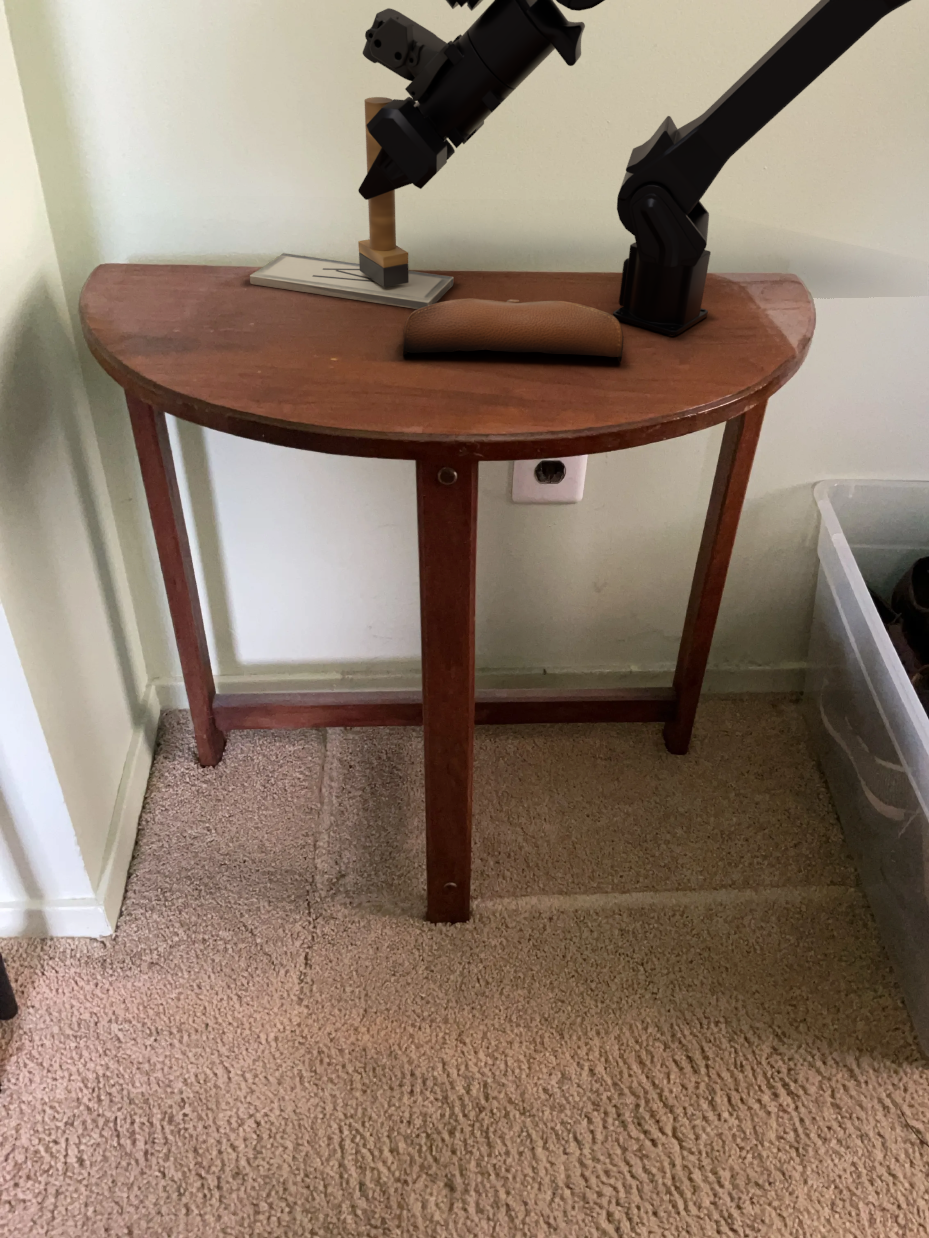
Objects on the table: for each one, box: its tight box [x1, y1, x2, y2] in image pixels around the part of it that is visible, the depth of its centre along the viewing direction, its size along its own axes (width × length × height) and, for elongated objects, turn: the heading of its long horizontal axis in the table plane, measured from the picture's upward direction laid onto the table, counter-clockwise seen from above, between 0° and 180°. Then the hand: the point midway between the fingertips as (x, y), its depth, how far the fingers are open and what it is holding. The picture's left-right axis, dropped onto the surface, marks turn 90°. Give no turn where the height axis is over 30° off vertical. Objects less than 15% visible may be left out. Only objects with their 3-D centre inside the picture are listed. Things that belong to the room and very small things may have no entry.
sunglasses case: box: [402, 297, 625, 363], centre depth 83 cm, size 18×7×7 cm, turn 89°
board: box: [249, 252, 454, 310], centre depth 94 cm, size 18×7×1 cm, turn 71°
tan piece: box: [357, 96, 409, 287], centre depth 88 cm, size 5×3×15 cm, turn 32°
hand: (366, 191), depth 88 cm, fingers closed on tan piece, 2 cm apart
